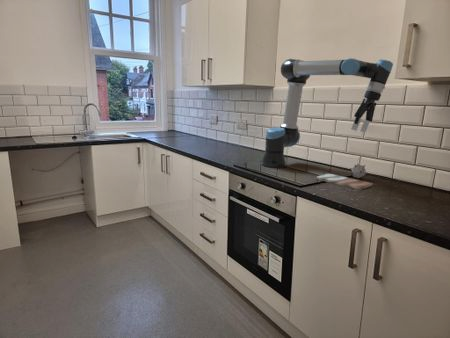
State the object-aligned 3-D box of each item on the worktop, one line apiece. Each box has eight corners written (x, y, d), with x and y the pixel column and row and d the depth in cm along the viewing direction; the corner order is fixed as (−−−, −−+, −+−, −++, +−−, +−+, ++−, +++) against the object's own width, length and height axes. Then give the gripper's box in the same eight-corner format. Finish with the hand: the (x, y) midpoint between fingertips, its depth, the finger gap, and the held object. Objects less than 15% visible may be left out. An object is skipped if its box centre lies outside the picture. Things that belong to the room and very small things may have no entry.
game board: (315, 178, 164) (315, 176, 163) (327, 175, 172) (328, 173, 172) (360, 189, 146) (360, 187, 145) (372, 185, 154) (372, 183, 154)
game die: (354, 183, 170) (353, 167, 174) (370, 181, 164) (368, 164, 168) (347, 178, 164) (346, 161, 168) (363, 175, 158) (362, 158, 162)
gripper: (373, 89, 145) (356, 131, 150) (388, 97, 163) (372, 134, 169) (358, 85, 149) (342, 127, 155) (374, 93, 168) (359, 130, 173)
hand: (358, 131), depth 162 cm, fingers open, 13 cm apart
